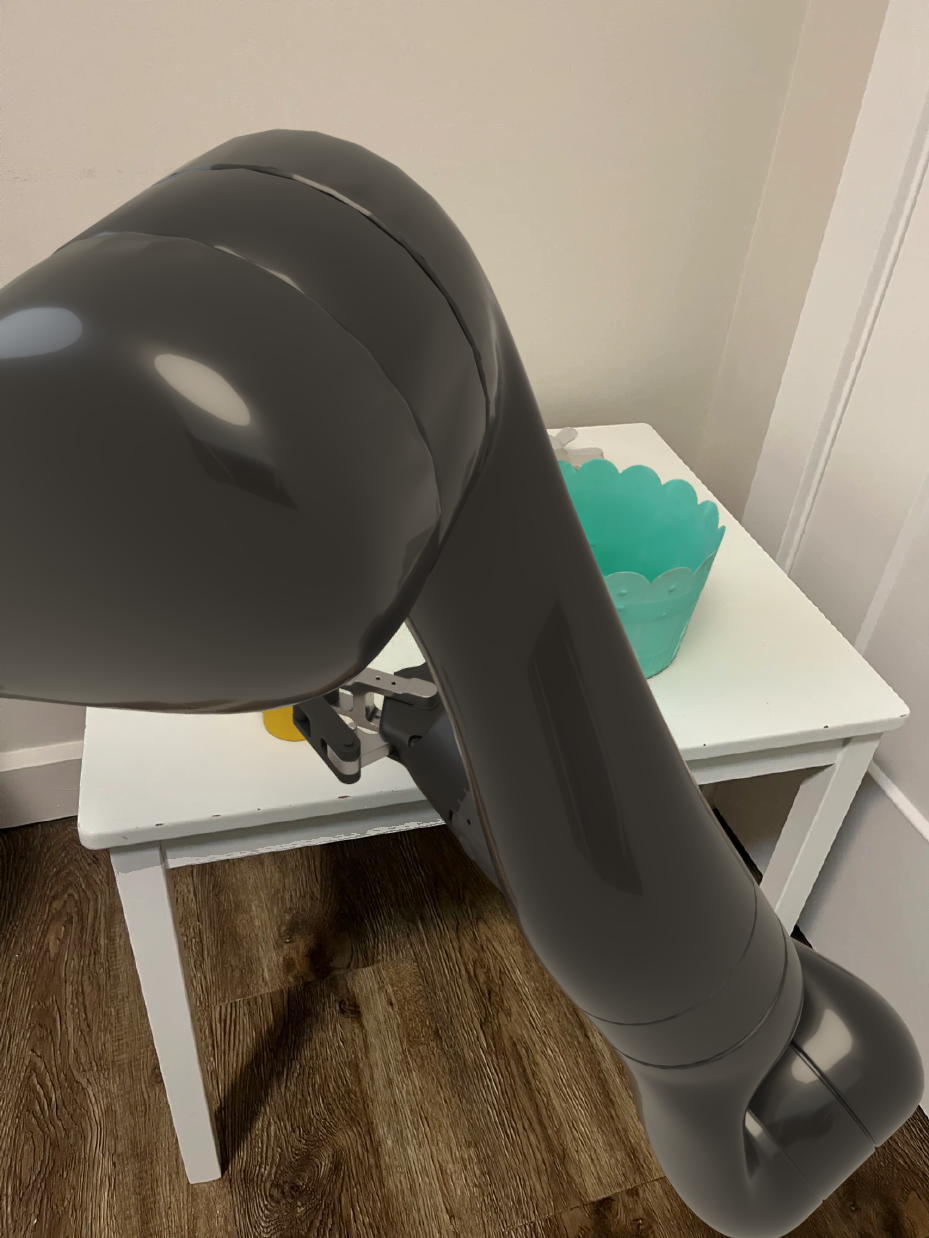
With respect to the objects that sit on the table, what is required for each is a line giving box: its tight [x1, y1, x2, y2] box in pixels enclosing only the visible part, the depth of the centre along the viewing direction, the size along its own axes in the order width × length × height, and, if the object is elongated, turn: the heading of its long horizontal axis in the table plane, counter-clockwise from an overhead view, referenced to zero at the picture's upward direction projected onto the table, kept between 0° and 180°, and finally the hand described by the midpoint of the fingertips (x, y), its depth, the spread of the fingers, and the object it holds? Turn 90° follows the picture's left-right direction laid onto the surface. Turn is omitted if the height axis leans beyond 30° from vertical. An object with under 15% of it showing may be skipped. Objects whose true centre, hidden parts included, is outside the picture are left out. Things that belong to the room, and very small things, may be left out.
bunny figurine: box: [548, 426, 605, 466], centre depth 105 cm, size 10×5×15 cm
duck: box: [262, 706, 306, 742], centre depth 71 cm, size 6×5×10 cm
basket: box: [557, 458, 726, 679], centre depth 82 cm, size 19×18×13 cm
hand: (365, 617), depth 55 cm, fingers open, 8 cm apart
